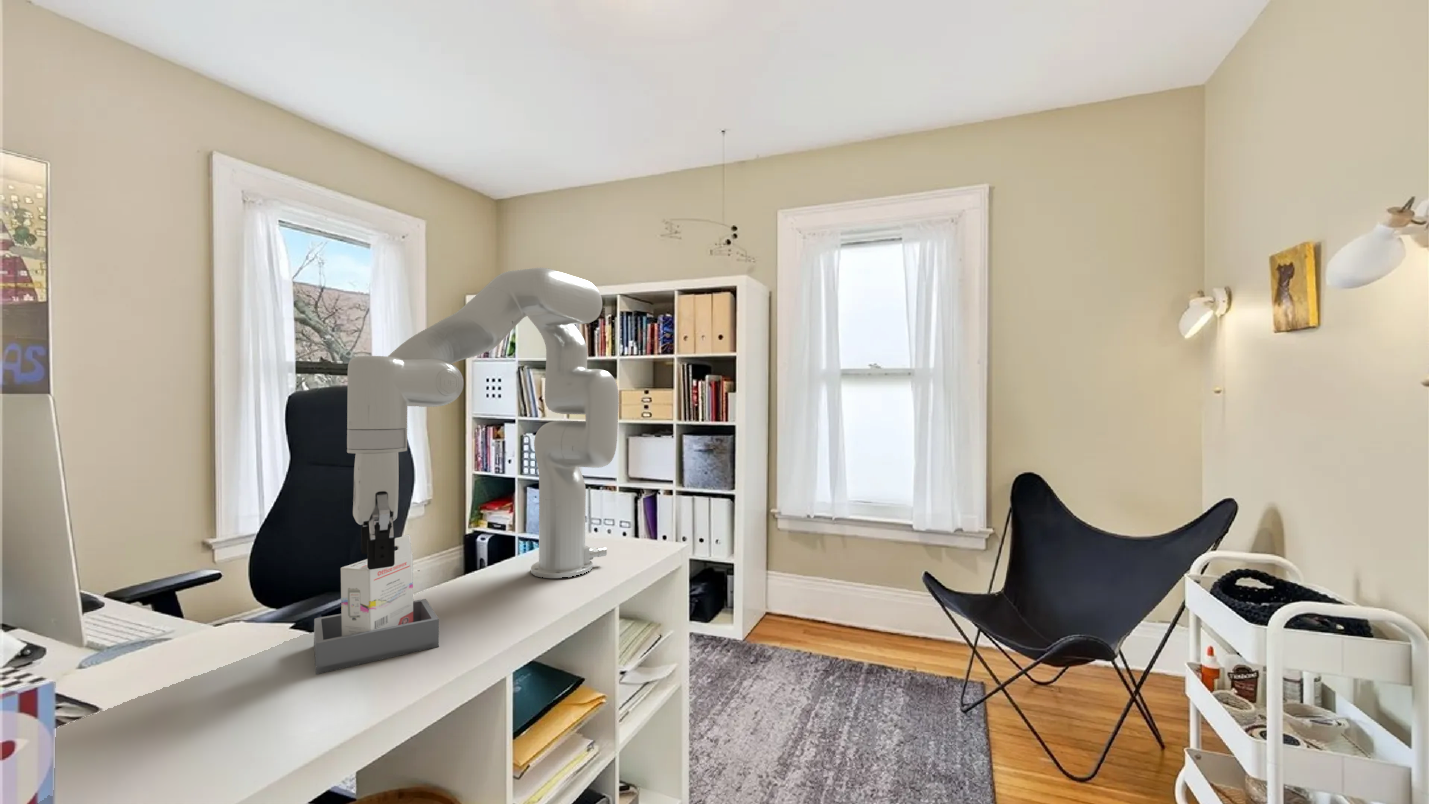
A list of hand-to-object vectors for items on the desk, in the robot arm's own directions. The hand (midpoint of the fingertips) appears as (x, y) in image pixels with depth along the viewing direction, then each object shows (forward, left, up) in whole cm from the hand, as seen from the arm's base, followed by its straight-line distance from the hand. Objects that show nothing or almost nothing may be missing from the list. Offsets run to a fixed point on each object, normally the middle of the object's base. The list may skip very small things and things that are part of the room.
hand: (377, 559), depth 83 cm
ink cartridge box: (0, 0, -12) cm, 12 cm away
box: (0, 0, -13) cm, 13 cm away
